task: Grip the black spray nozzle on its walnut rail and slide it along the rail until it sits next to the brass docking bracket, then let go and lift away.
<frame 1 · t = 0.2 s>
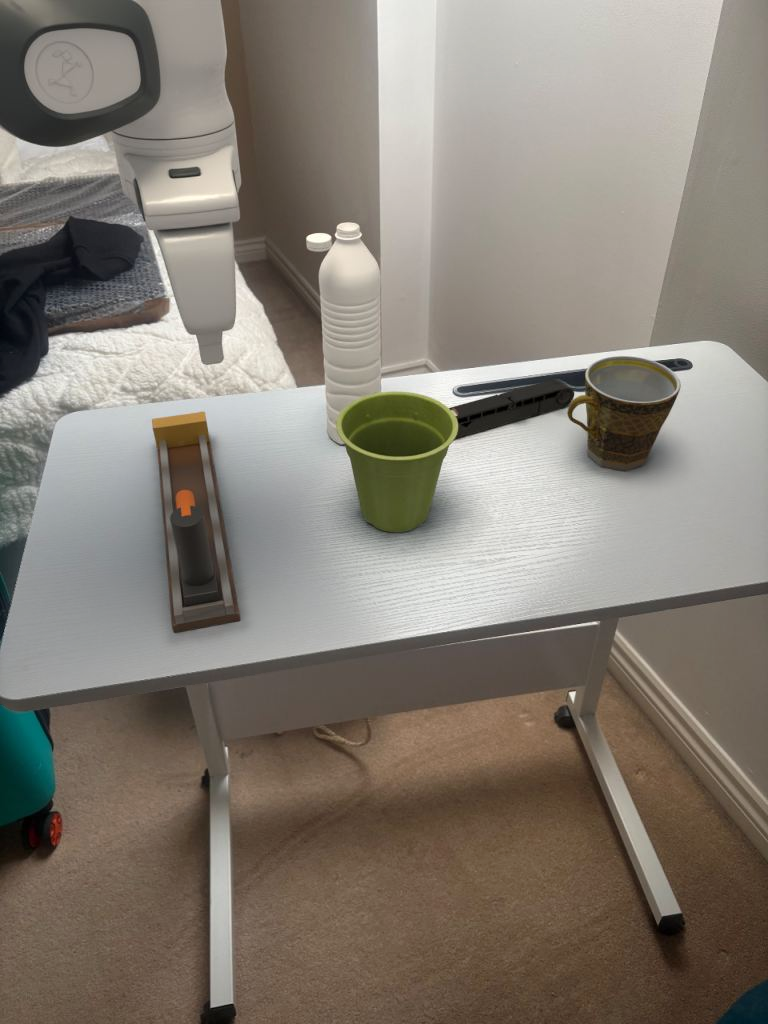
hand: (205, 333, 70), 23 cm above the table, tool pointing down, fingers open, 8 cm apart
rail: (193, 520, 87), on the table
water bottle: (348, 437, 99), on the table
dock: (184, 448, 97), resting on rail
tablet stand: (506, 419, 101), on the table
plant pot: (396, 513, 88), on the table
ceramic cup: (605, 458, 95), on the table
nozzle: (194, 552, 74), point 6 cm above the table, slide at 0.0 cm
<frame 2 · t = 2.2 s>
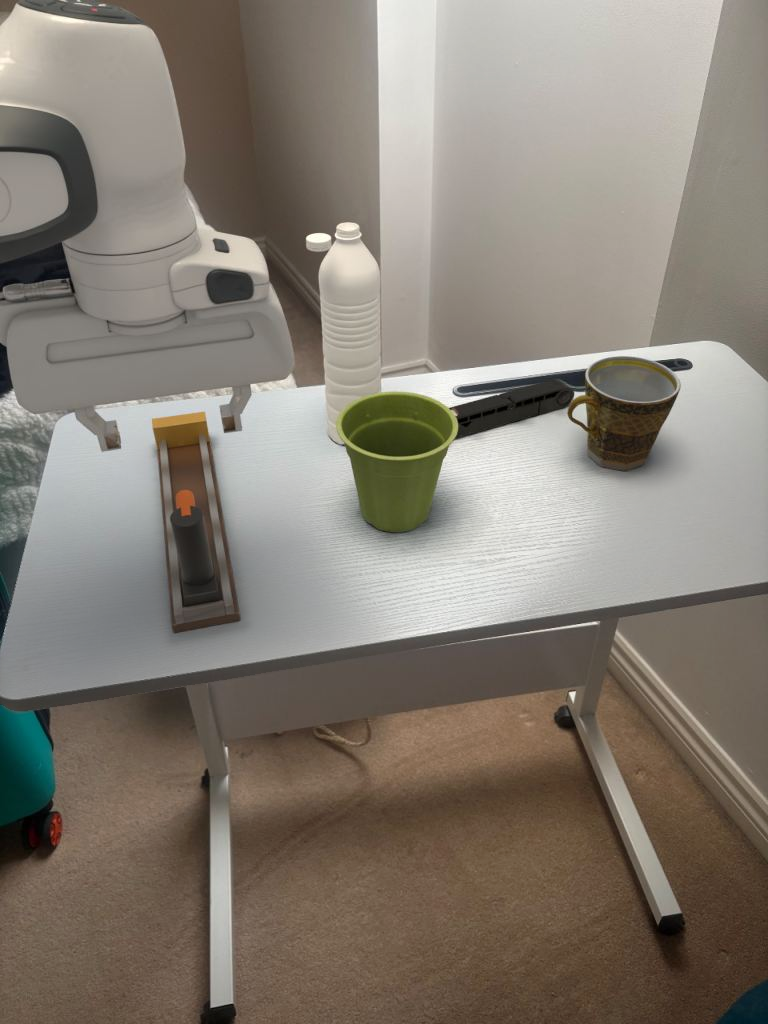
hand: (172, 437, 66), 19 cm above the table, tool pointing down, fingers open, 8 cm apart
nothing on the table moved.
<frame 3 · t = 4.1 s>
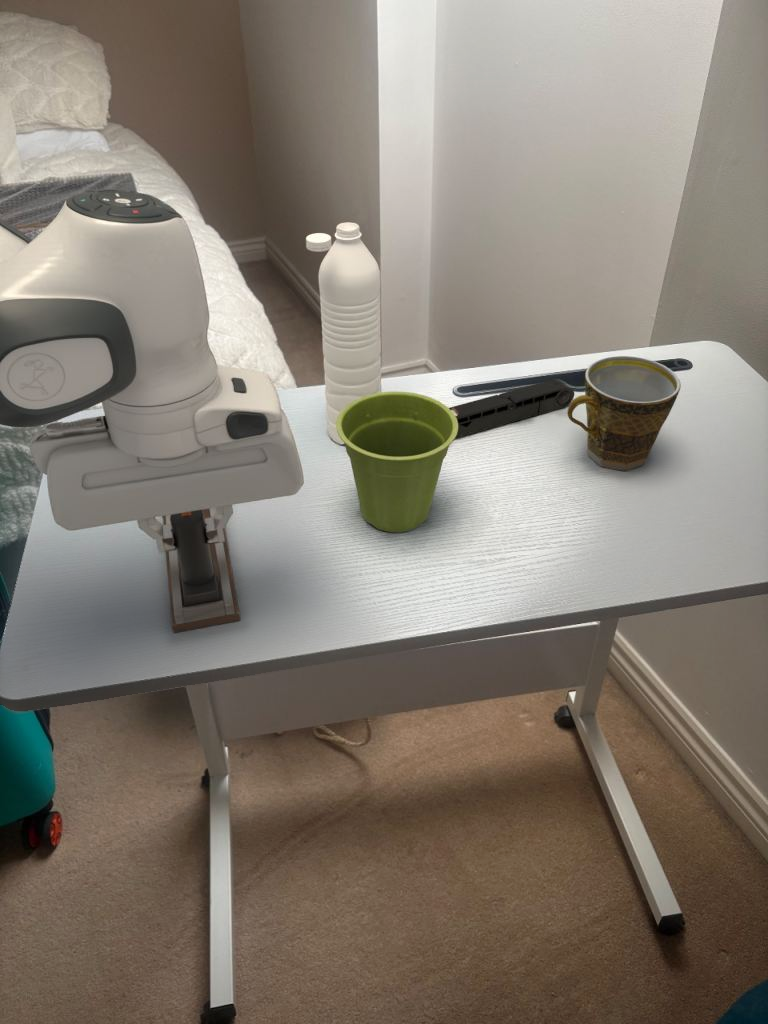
hand: (192, 543, 72), 8 cm above the table, tool pointing down, fingers closed on nozzle, 3 cm apart
nozzle: (194, 552, 74), point 6 cm above the table, slide at 0.0 cm, touching gripper
everything else where it was.
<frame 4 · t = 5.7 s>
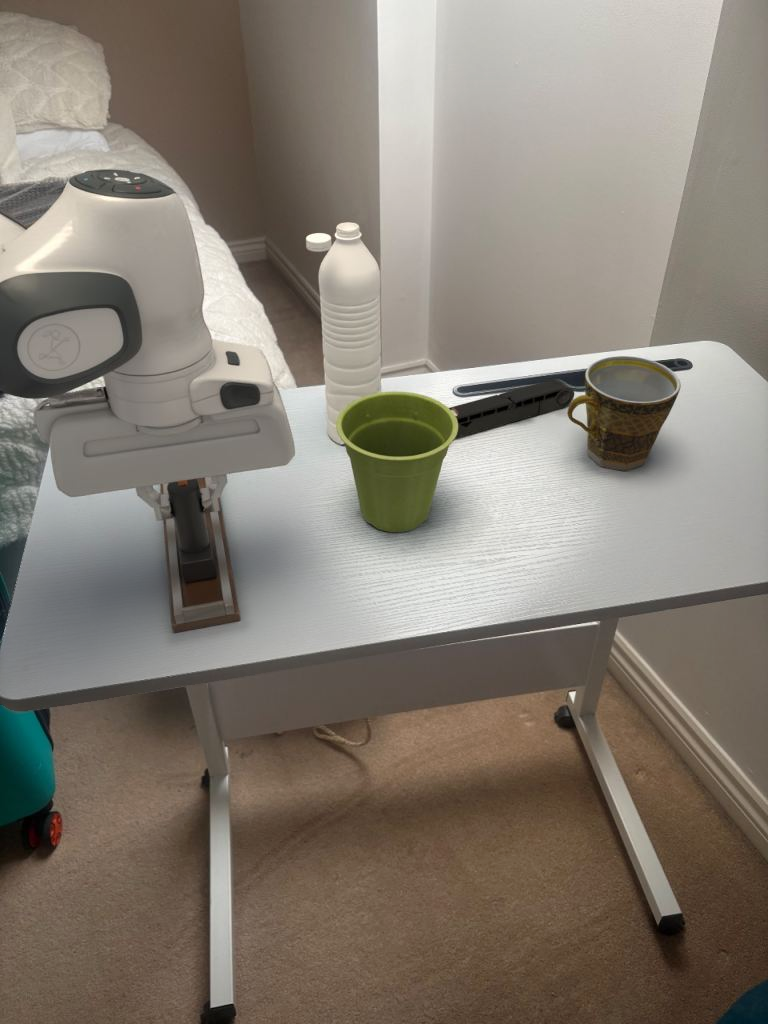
hand: (188, 512, 76), 8 cm above the table, tool pointing down, fingers closed on nozzle, 3 cm apart
nozzle: (190, 521, 77), point 6 cm above the table, slide at 4.4 cm, touching gripper
everything else where it was.
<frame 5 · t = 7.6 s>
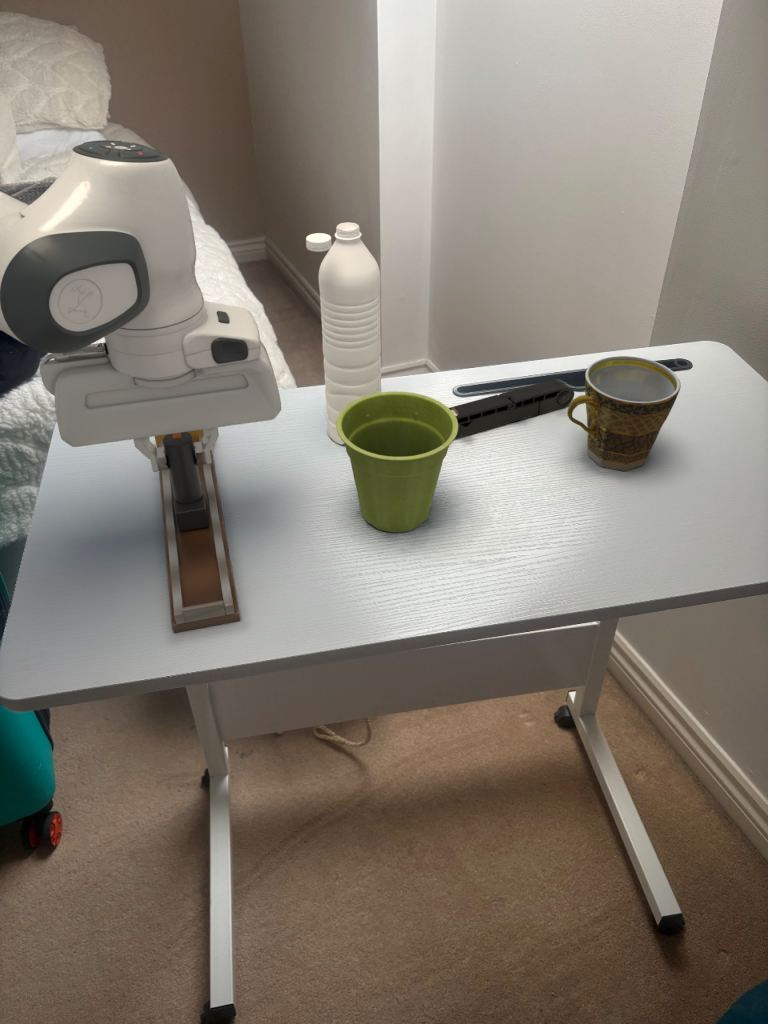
hand: (182, 464, 81), 8 cm above the table, tool pointing down, fingers closed on nozzle, 3 cm apart
nozzle: (184, 473, 83), point 6 cm above the table, slide at 12.0 cm, touching gripper
everything else where it was.
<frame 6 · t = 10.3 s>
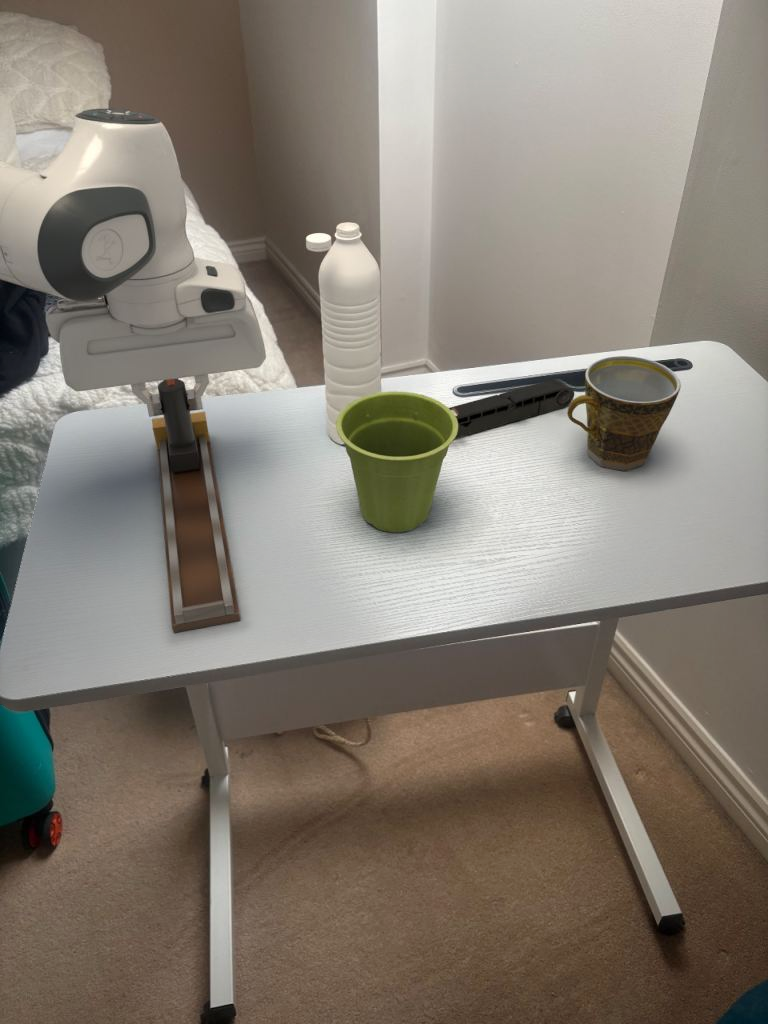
hand: (176, 410, 89), 8 cm above the table, tool pointing down, fingers closed on nozzle, 3 cm apart
nozzle: (178, 419, 90), point 6 cm above the table, slide at 22.1 cm, touching gripper
everything else where it was.
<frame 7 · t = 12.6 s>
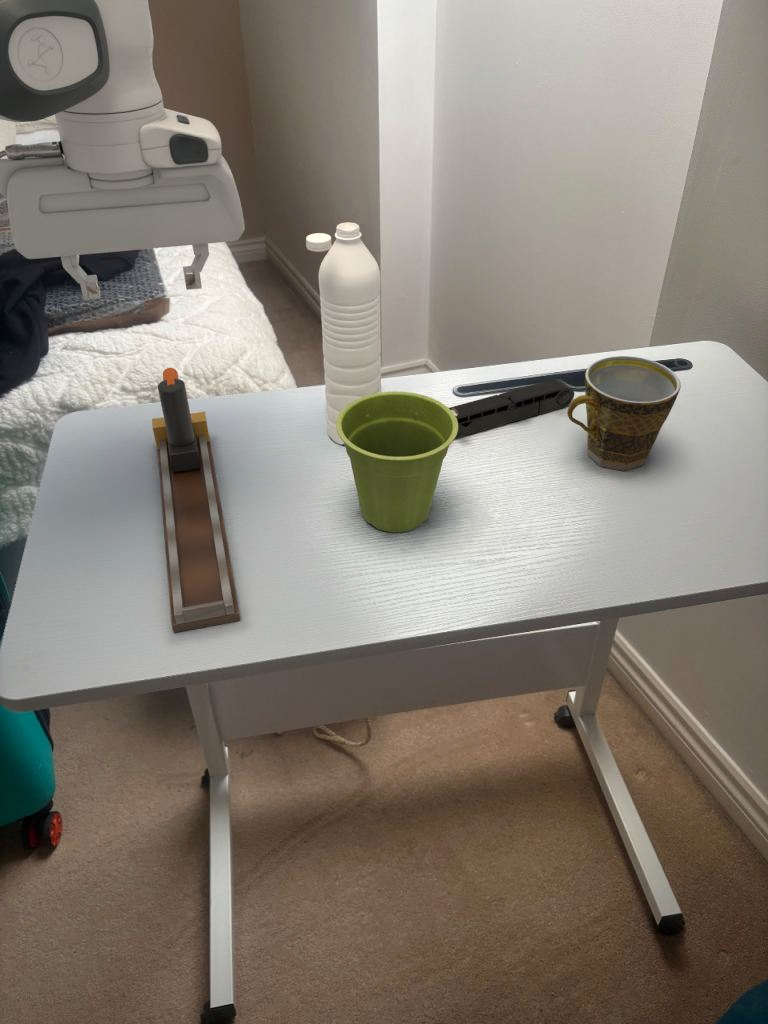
hand: (143, 292, 79), 22 cm above the table, tool pointing down, fingers open, 8 cm apart
nozzle: (178, 419, 90), point 6 cm above the table, slide at 22.2 cm
everything else where it was.
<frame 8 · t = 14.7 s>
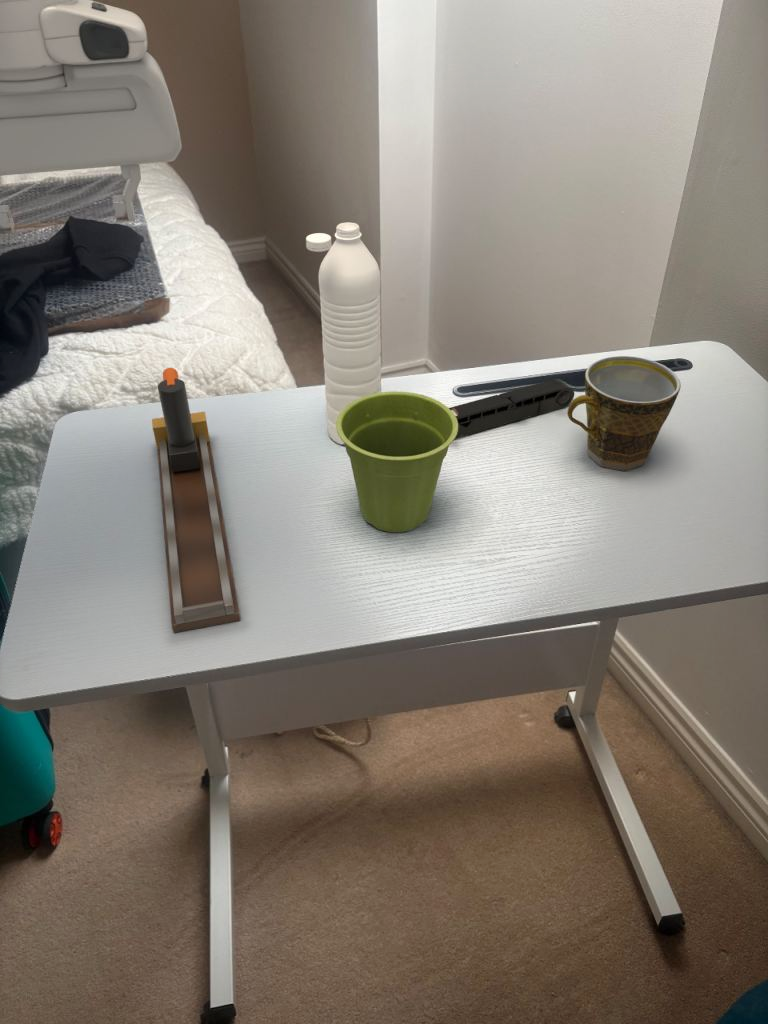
hand: (66, 225, 67), 31 cm above the table, tool pointing down, fingers open, 8 cm apart
nothing on the table moved.
at the end: nozzle slide at 22.2 cm; nozzle 3.8 cm from the dock (horizontally) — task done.
